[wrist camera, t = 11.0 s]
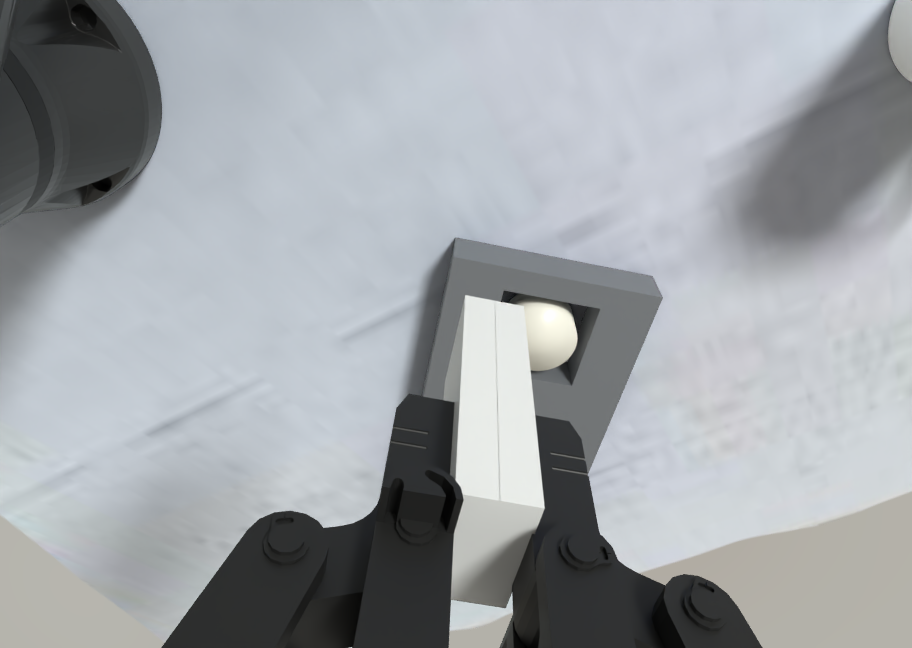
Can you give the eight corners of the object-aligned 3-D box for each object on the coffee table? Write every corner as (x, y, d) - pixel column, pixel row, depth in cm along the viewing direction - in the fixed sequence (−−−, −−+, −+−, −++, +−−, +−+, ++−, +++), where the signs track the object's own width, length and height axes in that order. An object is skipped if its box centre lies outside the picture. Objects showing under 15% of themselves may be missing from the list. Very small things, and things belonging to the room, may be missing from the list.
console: (393, 529, 59) (389, 556, 57) (455, 237, 44) (453, 256, 41) (540, 553, 60) (542, 580, 58) (652, 276, 45) (662, 297, 42)
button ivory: (493, 343, 48) (494, 363, 45) (510, 282, 45) (511, 301, 43) (561, 356, 48) (565, 376, 46) (582, 296, 45) (587, 315, 43)
